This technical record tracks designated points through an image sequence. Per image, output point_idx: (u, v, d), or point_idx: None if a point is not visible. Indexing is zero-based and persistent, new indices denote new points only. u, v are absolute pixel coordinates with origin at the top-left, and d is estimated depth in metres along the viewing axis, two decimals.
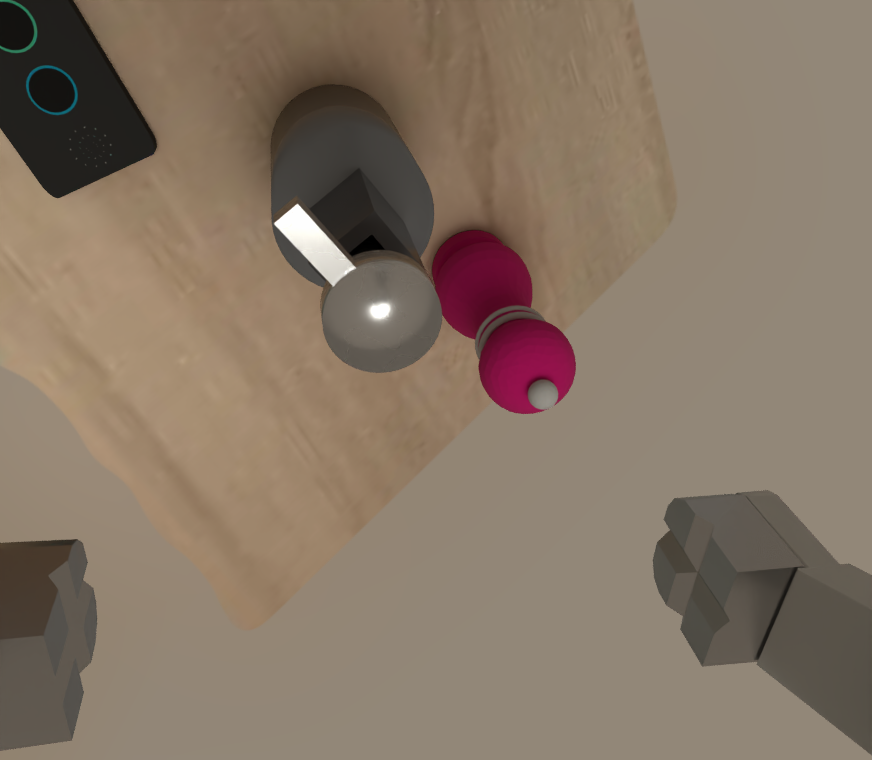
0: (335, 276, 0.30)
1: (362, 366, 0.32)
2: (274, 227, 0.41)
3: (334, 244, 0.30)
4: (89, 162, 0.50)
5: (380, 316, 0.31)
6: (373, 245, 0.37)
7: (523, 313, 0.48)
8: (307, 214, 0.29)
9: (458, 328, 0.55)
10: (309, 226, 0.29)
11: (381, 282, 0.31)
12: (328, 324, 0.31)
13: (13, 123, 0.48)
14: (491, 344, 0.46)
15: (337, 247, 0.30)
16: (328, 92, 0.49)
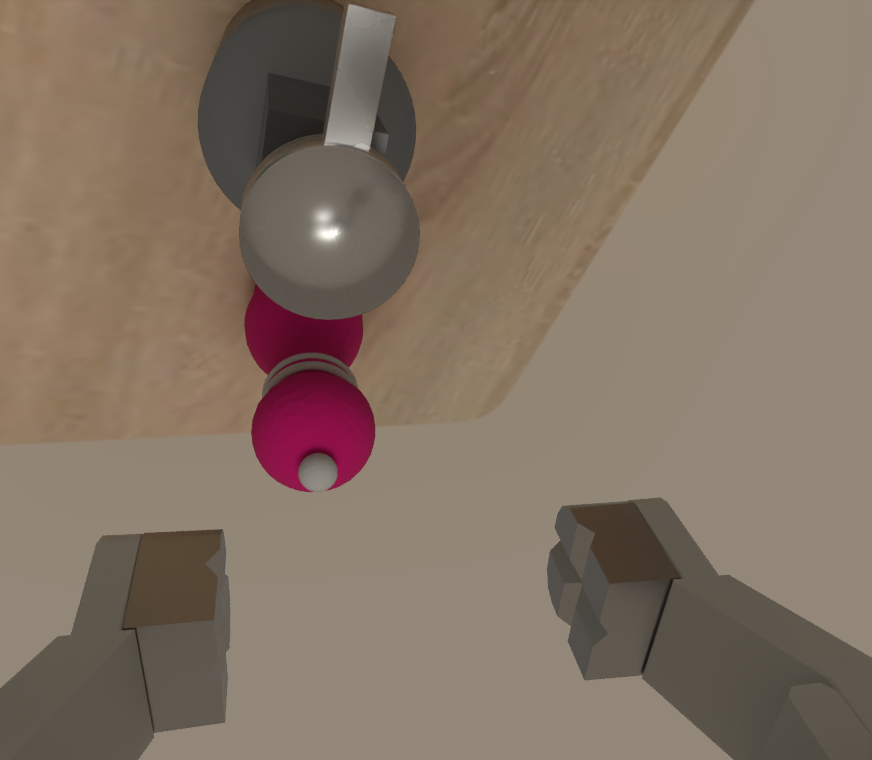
0: (339, 137, 0.20)
1: (252, 264, 0.21)
2: (226, 51, 0.30)
3: (377, 104, 0.20)
4: None
5: (334, 231, 0.21)
6: None
7: (350, 379, 0.39)
8: (390, 40, 0.19)
9: (254, 338, 0.44)
10: (378, 54, 0.19)
11: (377, 197, 0.21)
12: (274, 178, 0.20)
13: None
14: (307, 380, 0.36)
15: (376, 111, 0.20)
16: None
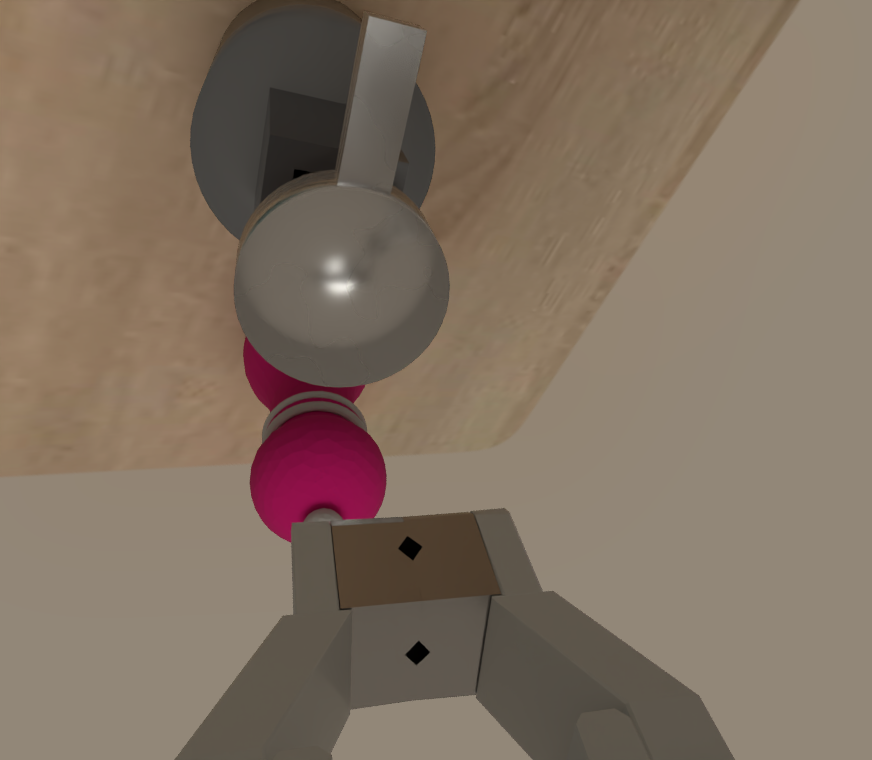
0: (355, 176, 0.17)
1: (249, 325, 0.18)
2: (222, 63, 0.26)
3: (402, 136, 0.16)
4: None
5: (348, 286, 0.18)
6: None
7: (359, 420, 0.35)
8: (418, 60, 0.16)
9: (254, 370, 0.40)
10: (404, 77, 0.16)
11: (400, 247, 0.17)
12: (276, 226, 0.17)
13: None
14: (311, 426, 0.32)
15: (400, 144, 0.16)
16: None
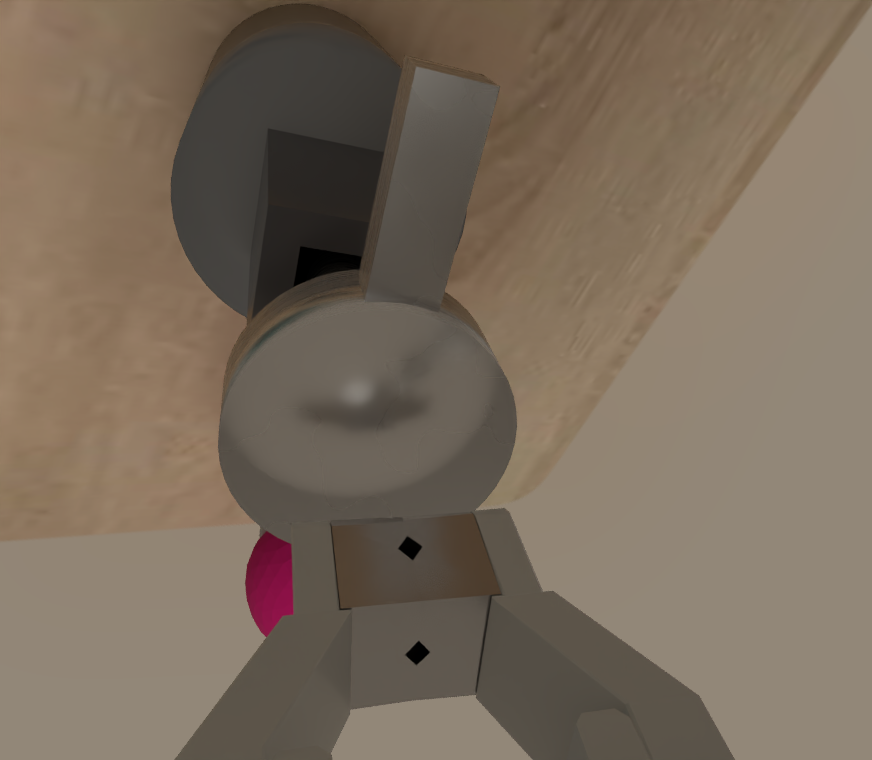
0: (390, 288, 0.12)
1: (241, 487, 0.13)
2: (209, 100, 0.21)
3: (457, 233, 0.11)
4: None
5: (378, 433, 0.13)
6: None
7: None
8: (485, 127, 0.11)
9: None
10: (465, 152, 0.11)
11: (452, 380, 0.12)
12: (278, 361, 0.12)
13: None
14: None
15: (454, 243, 0.12)
16: None
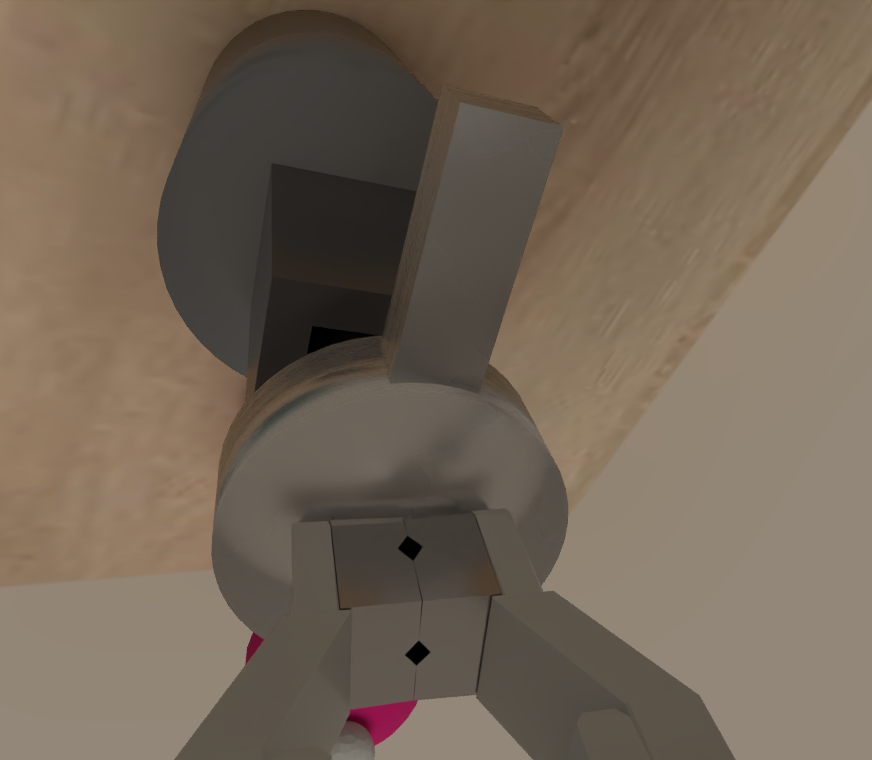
0: (420, 367, 0.10)
1: (239, 597, 0.11)
2: (202, 130, 0.18)
3: (504, 301, 0.09)
4: None
5: None
6: None
7: None
8: (543, 175, 0.09)
9: None
10: (517, 206, 0.09)
11: (493, 473, 0.10)
12: (284, 455, 0.09)
13: None
14: None
15: (500, 313, 0.09)
16: None
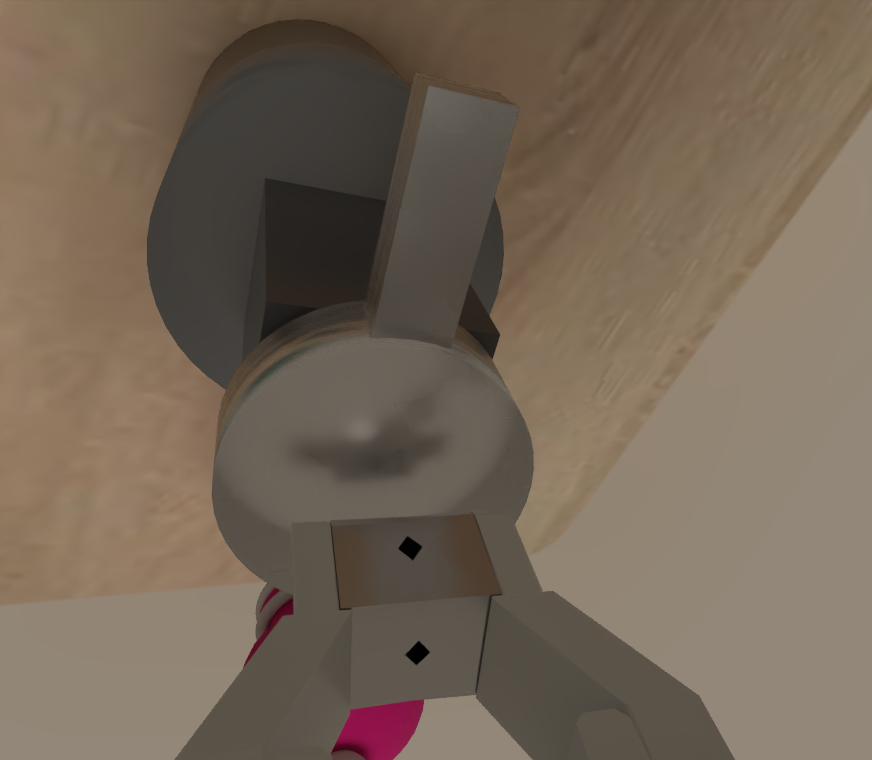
0: (398, 324, 0.11)
1: (236, 536, 0.12)
2: (193, 145, 0.17)
3: (472, 264, 0.11)
4: None
5: (385, 478, 0.12)
6: None
7: None
8: (503, 151, 0.10)
9: None
10: (481, 178, 0.10)
11: (465, 421, 0.11)
12: (276, 403, 0.11)
13: None
14: None
15: (468, 275, 0.11)
16: None
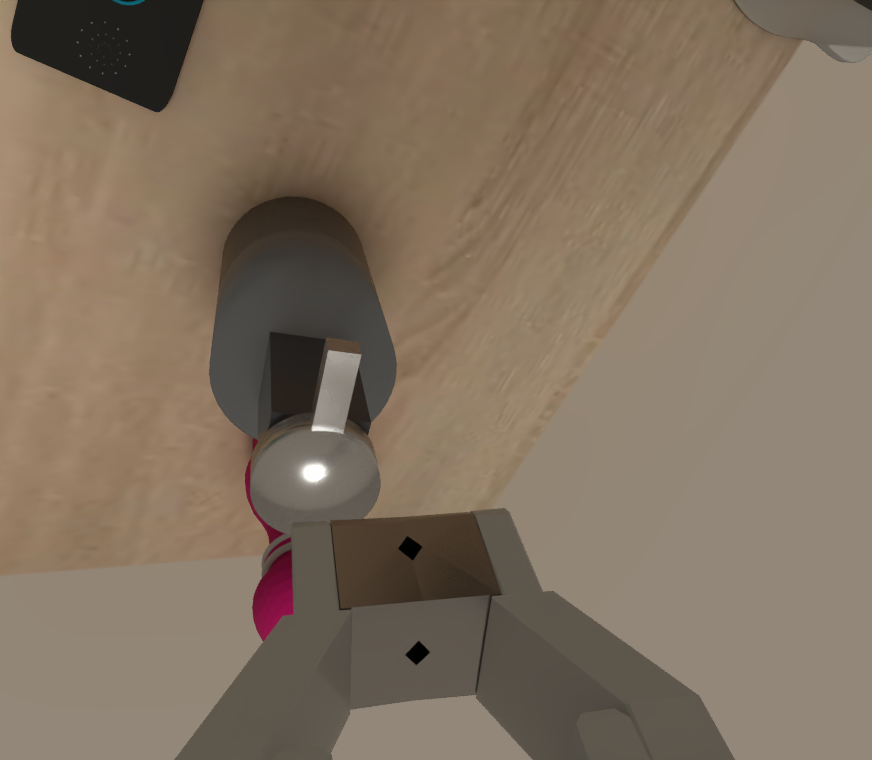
0: (321, 425, 0.28)
1: (259, 507, 0.29)
2: (234, 318, 0.35)
3: (349, 404, 0.28)
4: (86, 57, 0.40)
5: (318, 484, 0.29)
6: None
7: None
8: (357, 367, 0.27)
9: None
10: (349, 376, 0.27)
11: (349, 461, 0.29)
12: (275, 455, 0.28)
13: None
14: None
15: (348, 407, 0.28)
16: (346, 229, 0.46)
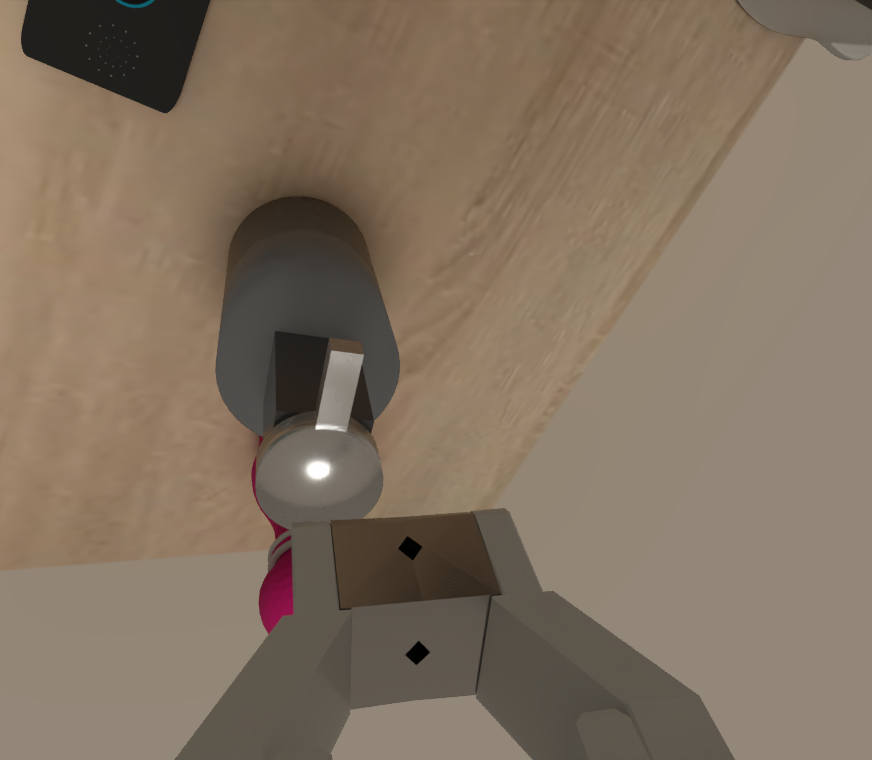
0: (325, 424, 0.29)
1: (264, 504, 0.30)
2: (240, 317, 0.35)
3: (352, 403, 0.29)
4: (95, 60, 0.40)
5: (322, 481, 0.30)
6: None
7: None
8: (360, 367, 0.28)
9: None
10: (352, 376, 0.28)
11: (352, 459, 0.30)
12: (280, 453, 0.29)
13: None
14: None
15: (351, 406, 0.29)
16: (350, 228, 0.46)
